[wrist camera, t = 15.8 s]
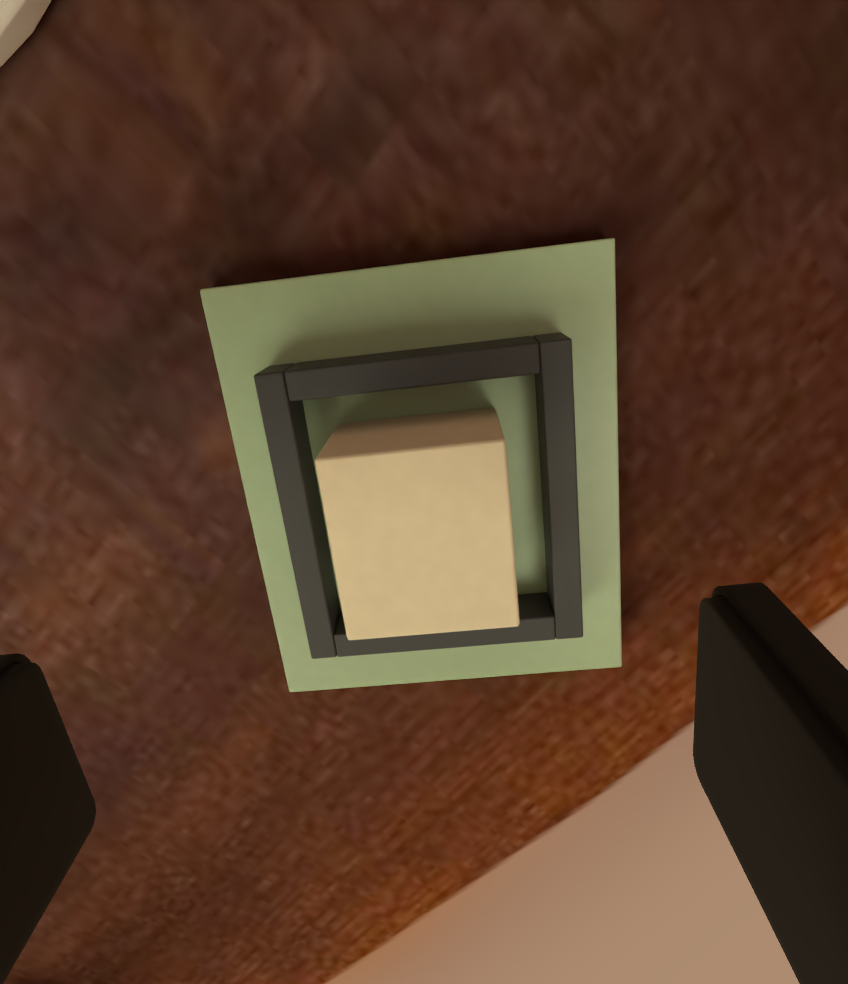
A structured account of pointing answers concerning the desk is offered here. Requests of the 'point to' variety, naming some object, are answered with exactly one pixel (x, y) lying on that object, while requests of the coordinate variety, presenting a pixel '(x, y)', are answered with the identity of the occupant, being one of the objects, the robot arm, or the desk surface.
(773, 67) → the desk surface
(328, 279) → the backing plate
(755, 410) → the desk surface
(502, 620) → the cream block
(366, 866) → the desk surface
